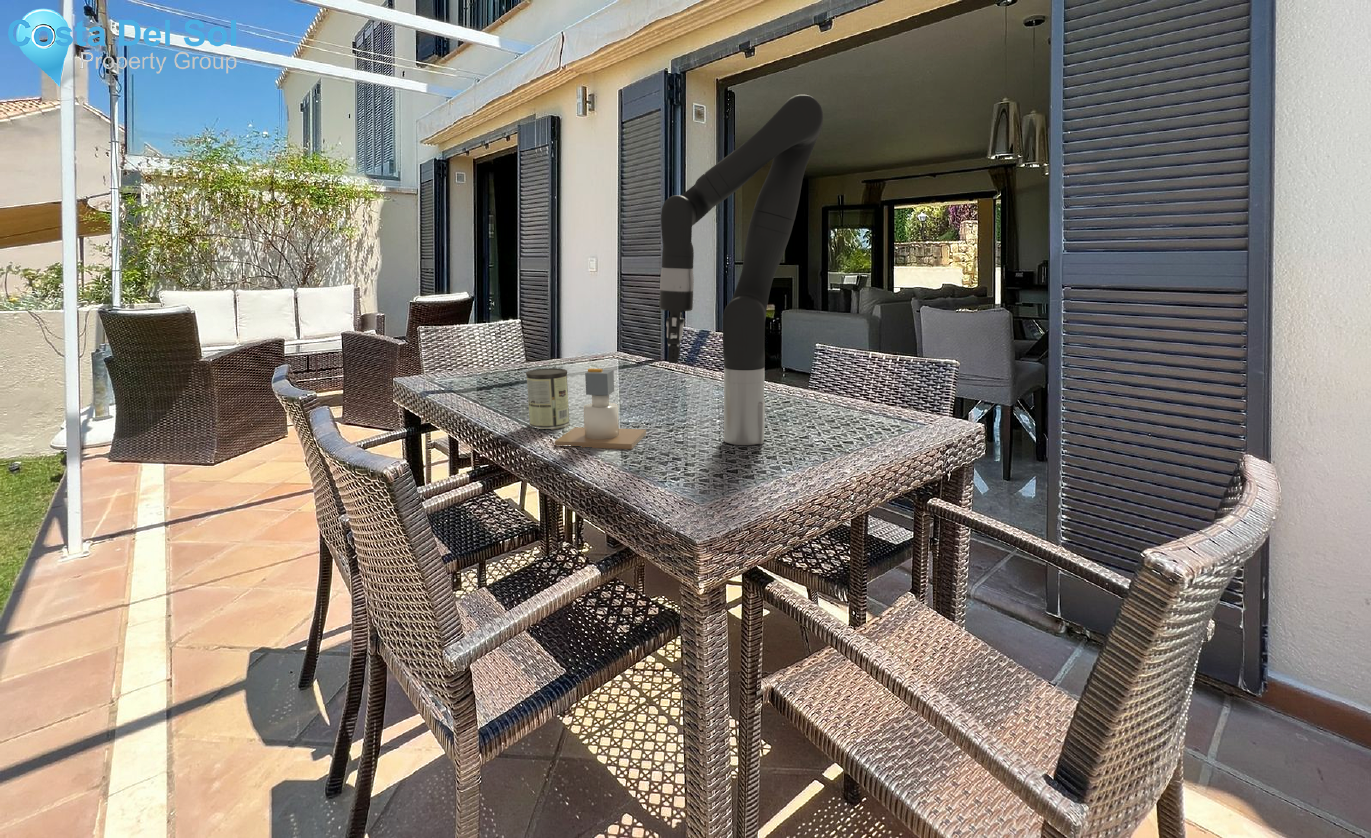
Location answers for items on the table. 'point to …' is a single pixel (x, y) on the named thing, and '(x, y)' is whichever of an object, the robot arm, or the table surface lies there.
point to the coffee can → (548, 398)
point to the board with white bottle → (601, 428)
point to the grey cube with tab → (599, 382)
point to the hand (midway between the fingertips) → (674, 360)
